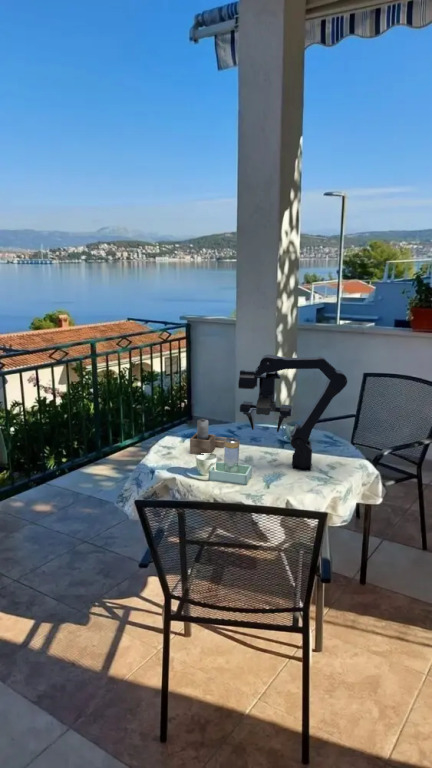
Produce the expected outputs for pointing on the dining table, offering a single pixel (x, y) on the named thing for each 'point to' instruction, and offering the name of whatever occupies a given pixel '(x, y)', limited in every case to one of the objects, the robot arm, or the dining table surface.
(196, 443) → the bin
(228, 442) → the cell
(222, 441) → the wooden switch box
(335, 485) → the dining table surface
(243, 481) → the trough
